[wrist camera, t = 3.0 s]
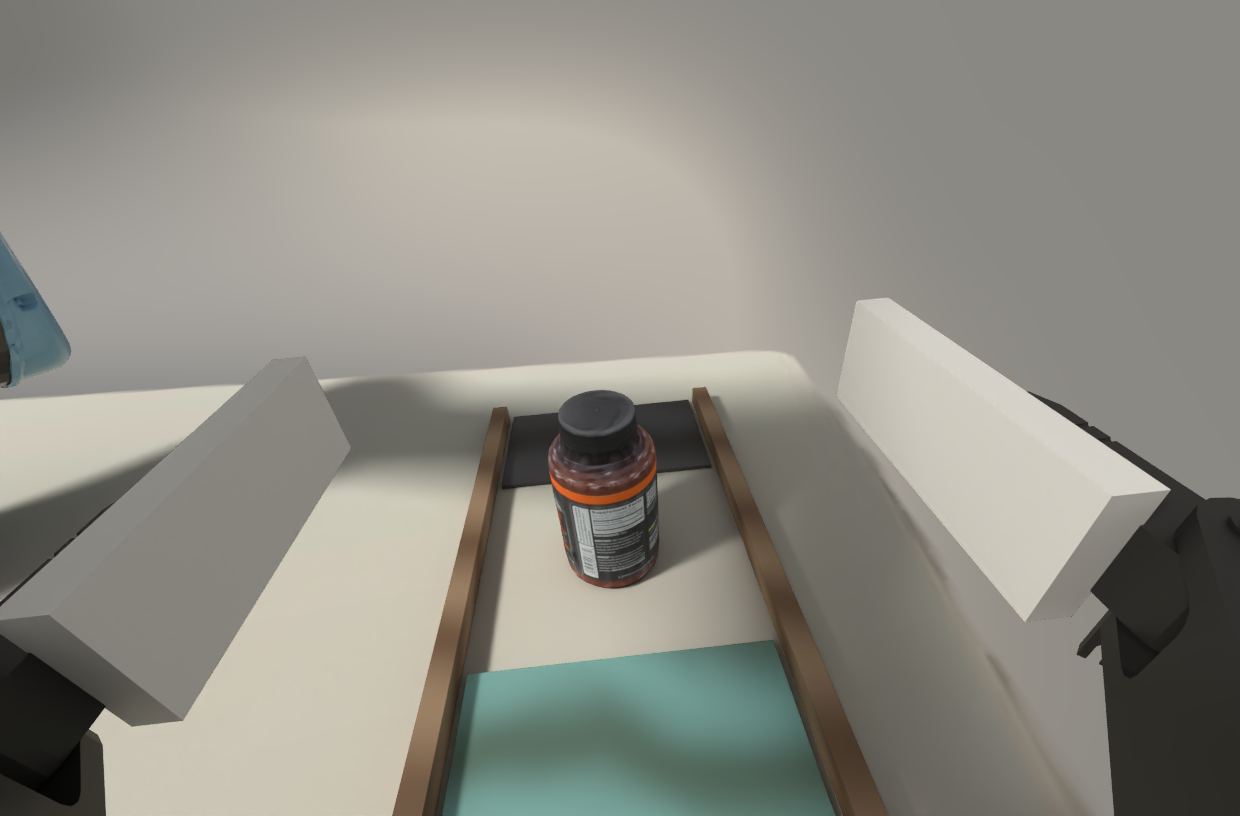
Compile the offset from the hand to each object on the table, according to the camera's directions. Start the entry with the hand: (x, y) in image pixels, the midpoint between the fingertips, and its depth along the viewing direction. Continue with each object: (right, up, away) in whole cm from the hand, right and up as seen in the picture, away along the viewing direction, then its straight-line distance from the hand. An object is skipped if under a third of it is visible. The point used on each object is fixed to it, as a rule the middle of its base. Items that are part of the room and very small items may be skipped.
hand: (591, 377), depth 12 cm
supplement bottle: (0, -10, +19) cm, 22 cm away
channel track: (0, -10, +19) cm, 22 cm away
